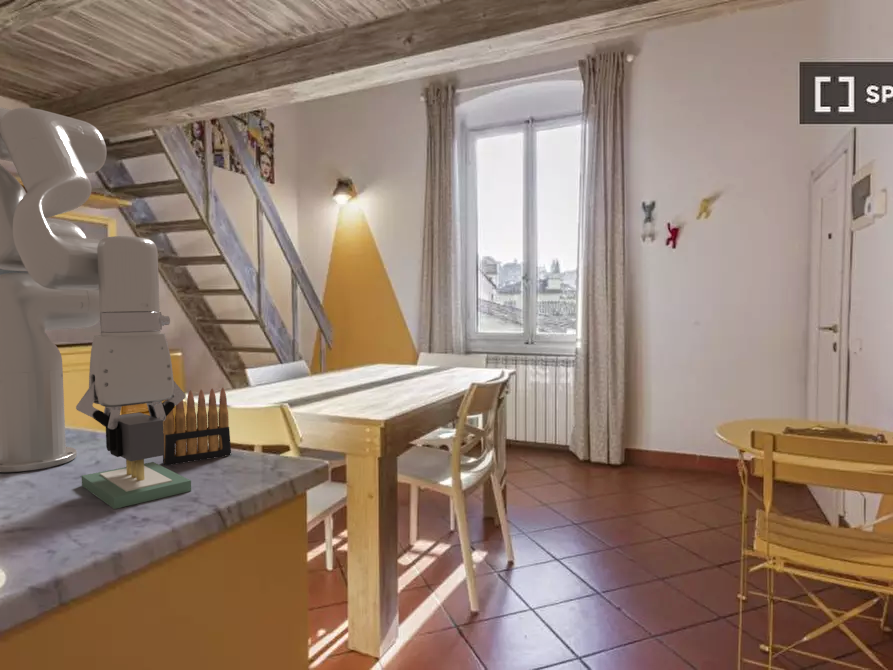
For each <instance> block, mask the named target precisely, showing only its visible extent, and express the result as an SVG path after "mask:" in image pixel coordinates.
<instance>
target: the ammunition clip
mask: <svg viewBox="0 0 893 670" xmlns="http://www.w3.org/2000/svg"><path fill="white" fill-rule="evenodd" d="M167 400H168V399H167ZM164 401H166V400H164ZM184 403H185V402H184V399H183V400H182V401H181V402H180V403H179V404H177V405H176V406H175V415H174V409H173V410H172V411H171V412H170V413H169V414H168V415H167V416H166V419H165V421H163V430H164V455H163V456H162V463H163V464H164V465H165V466H172V465H171V464H173V465H177V464H176V463H179V464H183V462H185V463H189V462H188V461H192V462H195V461H194V460H198V461H201V460H200V459H205V460H208V459H207V458H211V459H215V458H214V457H218V458H223V457H222V456H224V457H226V456H225V455H230V453H231V454H232V448H231V434H230V432H231V431H230V426H229V424H230V423H229V409H228V401H227V393H226V390H225V388H224V387H222V388H221V390H220V393H219V404H218V405H219V406H218V407H219V408H218V407H217V397H216V393H215V390H214V388H211V389H210V392H209V395H208V412H207V407H206V397H205V393H204V391H203V389H201V388H200V390H199V393H198V397H197V411H196V407H195V406H196V405H195V403H196V402H195V397H194V393H193V391H192V390H189V391H188V394H187V399H186V412H185V408H184V407H185V406H184V405H185V404H184ZM185 413H186V414H185Z"/></svg>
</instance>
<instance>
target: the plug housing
mask: <svg viewBox="0 0 893 670" xmlns="http://www.w3.org/2000/svg"><path fill="white" fill-rule="evenodd" d="M118 424H119V428H121V430H122V449H123V455H122V456H121V458H123V459H125V460H126V459H127V460H129V461H136V460H142V459H144V460H147V459H151V458H157V457H161V456H162V457H163V455H164V421H163V420H161V419H158V418H155V417H152V416H150V414H149V415H148V414H145V413H142V412H140V411H139V412H132V413H126V414H120V416H119V421H118Z"/></svg>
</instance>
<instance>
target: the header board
mask: <svg viewBox="0 0 893 670" xmlns="http://www.w3.org/2000/svg"><path fill="white" fill-rule="evenodd" d="M125 461H126V463H125V465H126V467H125V466H124V467H119V468H115V469H108V470H103V471H99V472H93V473H89V474H84V475H83V474H82V475H81V486H82V487H83V488H84V489H86V490H87V491H88V492H90V493H91V494H93V495H94V496H95V497H97V498H98V499H99V500H101V501H102V502H104V503H105V504H107V505H108V506H110V507H111V508H112V509H113V510H117V509H120V508H125V507H129V506H134V505H138V504H142V503H146V502H151V501H154V500H159V499H163V498H168V497H171V496H176V495H178V494H183V493H187V492H192V480H191V479H189V478H187V477H185V476H183V475H181V474H178V473H177V472H174V471H173V470H171V469H168V468H166V467H165V466H162V465H160V464H158V463H157V462H154V461H151V462H147V463H145V459H142V460H136V461H129V460H127V459H125Z"/></svg>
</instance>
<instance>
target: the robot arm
mask: <svg viewBox="0 0 893 670" xmlns="http://www.w3.org/2000/svg"><path fill="white" fill-rule="evenodd" d="M107 154H108V153H107V145H106V142H105V139H104V137H103V135H102V133H101V132H100V131H99V129H98V128H97V127H96V126H95V125H93V124H91V123H89V122H87V121H85V120H81V119H78V118H75V117H72V116H71V117H70V116H66V115H63V114H59V113H55V112H51V111H47V110H44V109H39V108H34V107H17V108H13V109H8V108H4V107H2V106H0V160H1V161H7V162H11V163H13V165H14V167H15V170H16V171H17V173H18V176H19V178H20V180H21V182H22V184H23V186H24V187H23V186H22V184H21V183H20V181H19V180H18V179H17V178H16V177H15V176H14V175H13V174H12V173H11V172H10V171H9V170H8V169H6V167H4V166H3V165H2V164H1V163H0V270H4V271H13V272H7V273H1V274H0V473H18V472H19V473H20V472H28V471H36V470H41V469H49V468H52V467H56V466H60V465H63V464H66V463H68V462H71V461H73V460H74V459H76V458H77V454H78V453H77V452H78V451H77V449H76V448H74V447H72V446H66V445H67V444H66V443H67V442H66V423H65V422H66V420H65V419H66V418H65V398H64V397H65V396H64V394H65V393H64V373H63V371H64V370H63V358H62V353H61V352H60V350H59V348H58V346H57V345H56V344H55V343H54V341H53V340H52V339H51V338H50V336H48V334H47V333H46V331H53V330H72V329H73V330H76V329H77V330H78V329H87V328H91V327H93V326H96V325H97V324H99V325H100V326H99V327H100V328H99V329H100V330H99V331H100V335H93V338H92V342H91V349H90V360H89V375H88V389H87V390H86V392H85V393H84V394H83V396H82V397H81V399H80V400H79V402H78V403H77V404H76V406H75V409H76V411H78V412H80V413H82V414H84V415H87V416H88V417H90V418H92V419H94V420H95V421H96V422H98V423H99V424H101V425H102V427H105V444H106V445H105V446H106V450H107V452H109V453H110V454H111V455H112V456H114V457H115V458H120V457H121V456H122V455H123V449H122V430H121V428H119V424H118V421H119V416H120V415H121V411H122V407H126V406H135V405H144V404H146V406H147V410H148V413H149V416H152V417H155V418H158V419H161V420H163V422H164V421H165V419H166V416H167V415H168V414H169V413H170V412H171V411H172V410H173V411H174V409H175V408H176V405H177V404H179V403H180V402H181V401H182V400H183V401H184V399H185V398H186V393H185V392H184V391H183V390H182V389H181V388H180V386H179V385H178V384H177V383H176V381H175V380H174V372H173V364H172V357H171V353H170V348H169V344H168V341H167V335H166V333H164V332H161V330H163V327H165V326H169V325H170V324H171V318H170V316H169V315H163V314H162V311H160V310H161V309H160V307H161V306H160V283H159V282H160V280H159V278H160V277H159V254H158V253H159V251H158V246H157V245H156V243H155V242H154V241H153V240H151V239H149V238H147V237H139V236H127V235H126V236H125V235H124V236H123V235H122V236H121V235H120V236H119V235H118V236H107V237H103V238H102V239H97V238H90V237H87V236H86V234H85V232H84V231H83V230H82V229H81V227H79V225H77V224H75V223H74V222H72V221H69V220H64V219H59V218H51V217H54V216H57V215H61V214H66V213H68V212H70V211H73V210H76V209H78V208H79V207H81V206H83V205H84V204H85V203H86V202H87V201H88V200H89V198H90V196H91V194H92V183H91V180H90V179H89V177H88V175H87V174H93V173H96V172H99V170H100V169H102V168H103V166H104V165H105V162H106V160H107V156H108V155H107ZM14 271H15V272H14ZM17 271H18V272H17ZM167 399H168V400H167ZM165 400H166V401H165ZM94 404H96V405H100V406H102V407H104V410H103V411H102V410H100V409H98V408H96V407H94ZM121 458H122V457H121Z"/></svg>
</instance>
